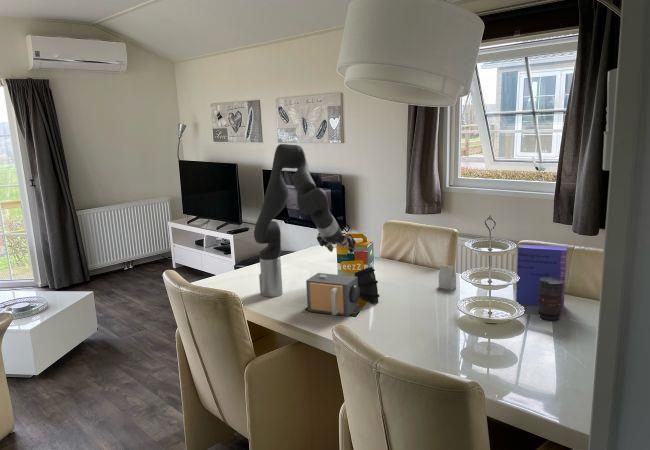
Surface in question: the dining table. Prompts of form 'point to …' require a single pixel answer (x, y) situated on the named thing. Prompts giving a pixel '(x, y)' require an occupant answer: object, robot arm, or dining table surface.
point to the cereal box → (538, 271)
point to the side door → (326, 297)
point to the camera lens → (550, 299)
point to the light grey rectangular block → (447, 277)
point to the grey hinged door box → (349, 290)
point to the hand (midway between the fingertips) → (341, 250)
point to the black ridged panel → (367, 285)
